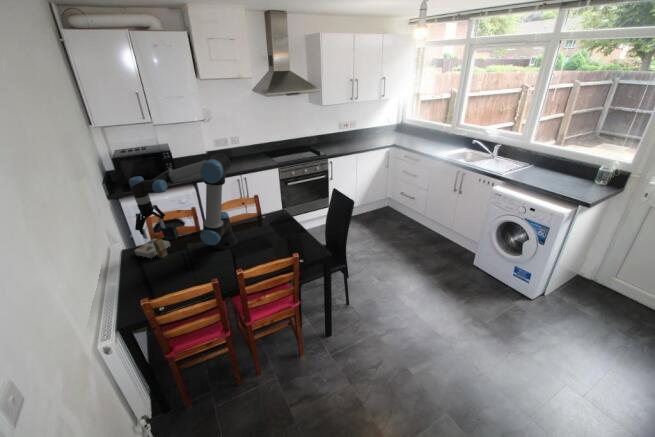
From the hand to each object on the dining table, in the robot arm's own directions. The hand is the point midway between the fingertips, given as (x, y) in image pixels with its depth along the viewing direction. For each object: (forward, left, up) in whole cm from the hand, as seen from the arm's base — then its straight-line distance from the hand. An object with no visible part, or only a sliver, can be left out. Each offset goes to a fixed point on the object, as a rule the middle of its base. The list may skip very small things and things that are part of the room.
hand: (154, 233), depth 201 cm
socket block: (+12, -3, -18) cm, 21 cm away
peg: (0, 0, -18) cm, 18 cm away
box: (+13, -20, -18) cm, 30 cm away
